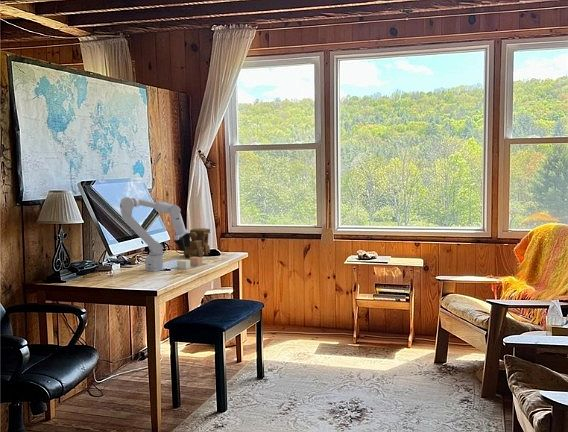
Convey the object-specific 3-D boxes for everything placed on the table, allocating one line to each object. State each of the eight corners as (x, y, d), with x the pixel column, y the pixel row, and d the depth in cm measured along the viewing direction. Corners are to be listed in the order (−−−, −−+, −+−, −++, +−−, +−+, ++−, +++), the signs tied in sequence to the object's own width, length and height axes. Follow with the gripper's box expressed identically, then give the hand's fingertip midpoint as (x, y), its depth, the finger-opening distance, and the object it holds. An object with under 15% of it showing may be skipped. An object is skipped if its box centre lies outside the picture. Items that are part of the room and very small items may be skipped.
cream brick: (186, 268, 317) (185, 261, 317) (177, 267, 320) (177, 260, 319) (190, 267, 320) (190, 260, 320) (181, 266, 323) (181, 259, 323)
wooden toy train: (195, 253, 374) (195, 228, 372) (212, 254, 371) (211, 228, 369) (182, 258, 354) (181, 231, 353) (199, 259, 351) (198, 232, 350)
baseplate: (186, 271, 313) (186, 262, 313) (170, 269, 318) (170, 261, 318) (208, 264, 332) (208, 256, 331) (193, 263, 337) (193, 255, 336)
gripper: (180, 227, 311) (187, 251, 314) (190, 220, 325) (197, 243, 327) (168, 230, 313) (175, 253, 316) (179, 223, 327) (186, 245, 329)
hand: (186, 248), depth 322 cm, fingers open, 7 cm apart
